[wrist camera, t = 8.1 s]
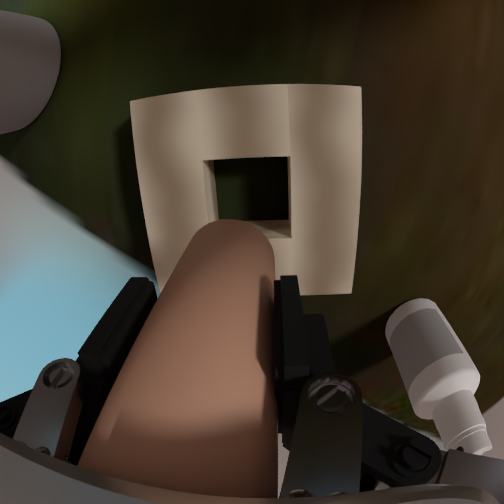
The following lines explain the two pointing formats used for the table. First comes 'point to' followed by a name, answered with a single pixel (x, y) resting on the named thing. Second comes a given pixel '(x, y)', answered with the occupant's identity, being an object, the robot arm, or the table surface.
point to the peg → (200, 377)
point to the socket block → (256, 145)
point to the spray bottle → (438, 374)
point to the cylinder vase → (26, 68)
